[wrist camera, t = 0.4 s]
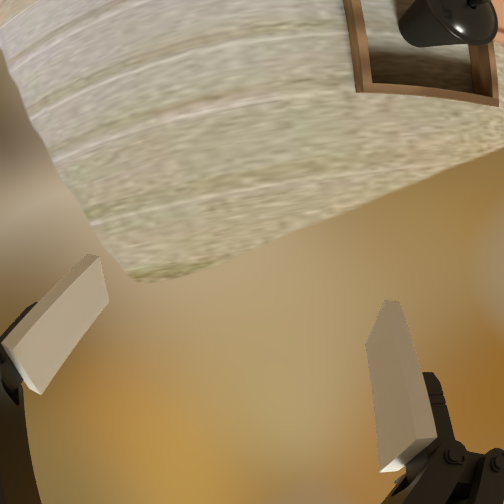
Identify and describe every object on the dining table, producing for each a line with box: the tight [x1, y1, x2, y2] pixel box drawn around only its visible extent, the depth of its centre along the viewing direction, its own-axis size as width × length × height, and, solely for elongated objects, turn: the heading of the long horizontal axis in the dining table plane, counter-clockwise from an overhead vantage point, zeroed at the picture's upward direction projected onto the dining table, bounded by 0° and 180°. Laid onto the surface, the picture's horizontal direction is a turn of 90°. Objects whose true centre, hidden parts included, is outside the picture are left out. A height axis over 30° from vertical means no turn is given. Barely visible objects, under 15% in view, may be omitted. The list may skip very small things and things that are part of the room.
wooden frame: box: [343, 0, 499, 107], centre depth 23 cm, size 18×18×5 cm
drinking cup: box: [399, 0, 498, 47], centre depth 17 cm, size 8×8×20 cm
